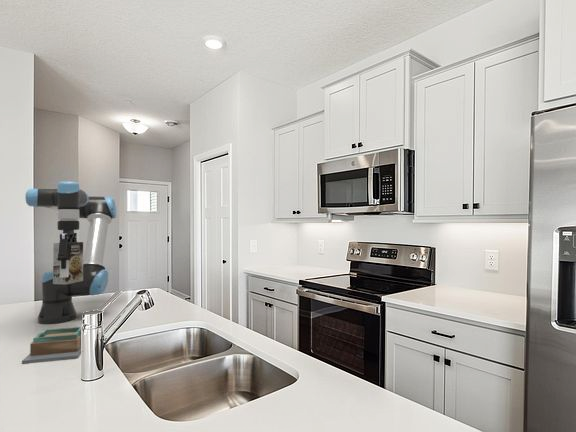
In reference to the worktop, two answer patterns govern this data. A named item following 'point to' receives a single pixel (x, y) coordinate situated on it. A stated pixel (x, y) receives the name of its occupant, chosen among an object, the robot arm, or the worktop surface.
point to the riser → (56, 341)
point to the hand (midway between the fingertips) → (68, 275)
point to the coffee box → (74, 263)
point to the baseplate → (51, 357)
